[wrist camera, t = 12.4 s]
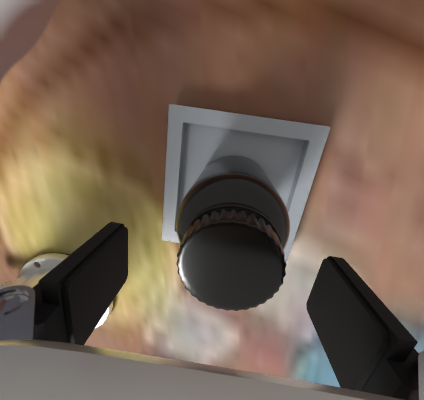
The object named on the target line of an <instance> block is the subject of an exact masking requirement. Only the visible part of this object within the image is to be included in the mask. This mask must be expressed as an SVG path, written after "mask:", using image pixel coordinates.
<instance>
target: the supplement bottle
mask: <svg viewBox="0 0 424 400" xmlns="http://www.w3.org/2000/svg"><path fill="white" fill-rule="evenodd" d="M176 231H177V236H178V239H179V242H180V249H179V251H178V254H177V257H178V260H177V266H178V274H179V275H180V276H181V281H182V283H184V284H185V288H186V289H187V290H189V291H190V293H191V295H192V296H194V297H196V298H197V299H198V300H199V301H201V302H204V303H206V304H207V305H209V306H213V307H215V308H217V309H224V310H235V311H238V310H241V309H243V310H247V309H249V308H252V307H257V306H258V305H259V304H263V303H265V302H266V301H267V300H268V299H270V298H272V297H273V295H274V293H276V292H278V290H279V287H280V286H281V285H282V284H283V278H284V276H285V275H286V272H285V268H286V261H285V258H284V257H285V254H284V249H285V247H286V244H287V242H288V238H289V233H290V220H289V215H288V211H287V208H286V206H285V204H284V202H283V200H282V198H281V197H280V195H279V193H278V192H277V190H276V189H275V187H274V186H273V184H272V182H271V181H270V179H269V178H268V176H267V175H266V173H265V172H264V170H263V169H262V168H261V167H260V166H259V165H258V164H257V163H256V162H254V161H253V160H251V159H249V158H246V157H243V156H238V155H229V156H224V157H221V158H218V159H216V160H214V161H213V162H211V163H210V164H209V165H208V166H207V167H206V168H205V169H204V170H203V172H202V173H201V174H200V176H199V177H198V178H197V180H196V181H195V183H194V184H193V185H192V187H191V188H190V190H189V191H188V192H187V194H186V195H185V197H184V199H183V201H182V203H181V205H180V207H179V210H178V213H177V219H176Z"/></svg>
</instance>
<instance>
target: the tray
mask: <svg viewBox="0 0 424 400" xmlns="http://www.w3.org/2000/svg"><path fill="white" fill-rule="evenodd" d="M330 128H331V127H328V126H321V125H314V124H307V123H300V122H293V121H286V120H279V119H272V118H265V117H258V116H251V115H244V114H237V113H230V112H223V111H216V110H209V109H202V108H195V107H188V106H181V105H174V104H169V115H168V133H167V152H166V171H165V190H164V208H163V227H162V240H165V241H171V242H177V243H180V242H179V239H178V236H177V231H176V219H177V213H178V210H179V207H180V205H181V203H182V201H183V199H184V197H185V195H186V194H187V192H188V191H189V190H190V188H191V187H192V185H193V184H194V183H195V181H196V180H197V178H198V177H199V176H200V174H201V173H202V172H203V170H204V169H205V168H206V167H207V166H208V165H209V164H210V163H211V162H213V161H214V160H216V159H218V158H221V157H224V156H229V155H238V156H243V157H246V158H249V159H251V160H253V161H254V162H256V163H257V164H258V165H259V166H260V167H261V168H262V169H263V170H264V172H265V173H266V175H267V176H268V178H269V179H270V181H271V182H272V184H273V186H274V187H275V189H276V190H277V192H278V193H279V195H280V197H281V198H282V200H283V202H284V204H285V206H286V208H287V211H288V215H289V220H290V233H289V238H288V242H287V244H286V247H285V249H284V254H285V257H284V258H285V261H287V259H288V256H289V253H290V250H291V247H292V244H293V241H294V238H295V235H296V232H297V229H298V226H299V223H300V220H301V217H302V213H303V210H304V207H305V204H306V201H307V198H308V195H309V192H310V189H311V186H312V183H313V180H314V177H315V174H316V171H317V167H318V164H319V161H320V158H321V155H322V152H323V149H324V146H325V143H326V140H327V137H328V134H329V131H330Z"/></svg>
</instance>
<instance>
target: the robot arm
mask: <svg viewBox="0 0 424 400" xmlns="http://www.w3.org/2000/svg"><path fill="white" fill-rule="evenodd" d="M127 276H128V229H127V228H126V227H125V226H124V224H121V223H114V222H110V223H109V224H107V225H106V226H105V227H104V228H102V229H101V230H100V231H99V232H98V233H96V234H95V235H94V236H93V237H91V238H90V239H89V240H88V241H87V242H85V243H84V244H83V245H82V246H80V247H79V248H78V249H77V250H75V251H74V252H73V253H72V254H71V255H69V256H68V255H64V254H58V253H48V254H43V255H39V256H37V257H35V258H33V259H32V260H30V261H29V262H28V263H26V264H25V265H24V266H23V267H22V269H21V270H20V272H19V276H18V279H17V280H15V281H14V282H11V281H10V282H5V283H3V284H2V283H0V400H424V351H422V352H420V353H418V352H417V351H416V350H415V349H414V347H415V346H416V344H417V343H418V342H417V341H416V340H415V339H414V337H413V336H412V335H411V334H410V333H409V332H408V331H407V330H406V328H405V327H404V326H403V325H402V324H401V323H400V322H399V320H398V319H397V318H396V317H395V316H394V315H393V314H392V313H391V311H390V310H389V309H388V308H387V307H386V306H385V305H384V304H383V302H382V301H381V300H380V299H379V298H378V297H377V296H376V295H375V293H374V292H373V291H372V290H371V289H370V288H369V287H368V285H367V284H366V283H365V282H364V281H363V280H362V279H361V278H360V276H359V275H358V274H357V273H356V272H355V271H354V270H353V269H352V267H351V266H350V265H349V264H348V263H347V262H346V261H345V260H344V259H343V258H338V257H332V256H329V257H327V259H324V260H323V261H322V264H321V267H320V269H319V272H318V274H317V277H316V280H315V282H314V285H313V288H312V290H311V293H310V295H309V298H308V301H307V311H308V313H309V316H310V318H311V320H312V323H313V325H314V327H315V329H316V332H317V334H318V336H319V339H320V341H321V343H322V345H323V348H324V350H325V352H326V355H327V357H328V359H329V362H330V364H331V366H332V368H333V371H334V373H335V375H336V378H337V380H338V382H339V384H340V387H341V388H340V387H334V386H328V385H323V384H317V383H311V382H305V381H300V380H294V379H288V378H282V377H277V376H271V375H265V374H259V373H253V372H247V371H241V370H235V369H229V368H223V367H217V366H211V365H205V364H199V363H193V362H187V361H181V360H175V359H169V358H162V357H156V356H150V355H144V354H138V353H132V352H125V351H119V350H113V349H106V348H99V347H92V346H85V345H84V344H85V342H86V341H87V339H88V338H89V336H90V335H91V333H92V332H93V330H94V329H95V328H97V327H99V326H100V325H102V324H103V323H104V322H105V321H106V319H107V318H108V316H109V315H110V313H111V311H112V308H113V300H114V298H115V297H116V295H117V294H118V292H119V291H120V289H121V287H122V286H123V284H124V283H125V281H126V279H127Z"/></svg>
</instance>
